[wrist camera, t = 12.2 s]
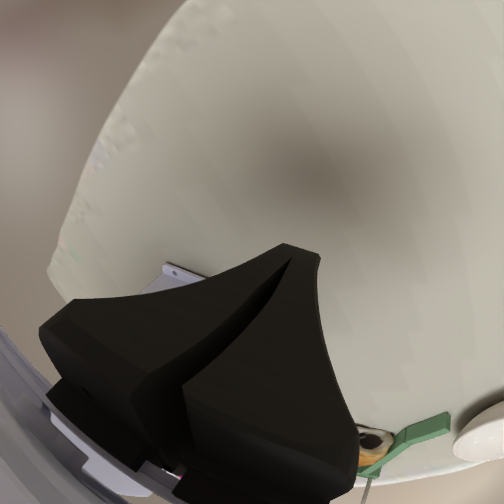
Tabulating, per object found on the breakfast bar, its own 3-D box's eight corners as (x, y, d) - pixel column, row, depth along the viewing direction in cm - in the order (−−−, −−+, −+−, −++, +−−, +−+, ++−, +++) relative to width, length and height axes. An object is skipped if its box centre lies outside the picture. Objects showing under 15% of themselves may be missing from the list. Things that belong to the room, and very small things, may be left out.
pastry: (369, 457, 31) (362, 480, 28) (325, 446, 33) (316, 469, 30) (398, 430, 26) (393, 458, 23) (346, 418, 28) (337, 446, 25)
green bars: (260, 433, 37) (230, 488, 29) (283, 364, 27) (238, 451, 19) (380, 468, 31) (363, 526, 23) (453, 413, 21) (446, 500, 13)
